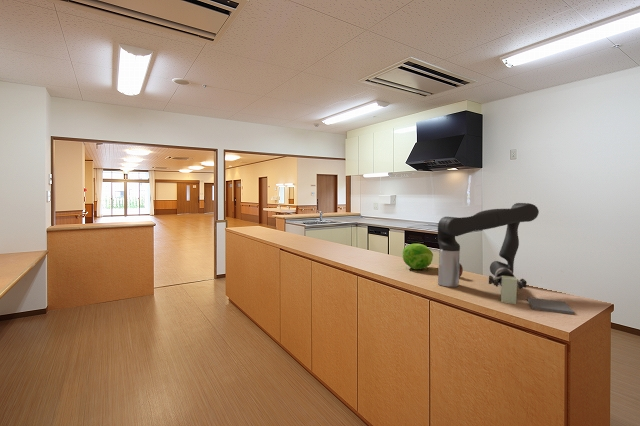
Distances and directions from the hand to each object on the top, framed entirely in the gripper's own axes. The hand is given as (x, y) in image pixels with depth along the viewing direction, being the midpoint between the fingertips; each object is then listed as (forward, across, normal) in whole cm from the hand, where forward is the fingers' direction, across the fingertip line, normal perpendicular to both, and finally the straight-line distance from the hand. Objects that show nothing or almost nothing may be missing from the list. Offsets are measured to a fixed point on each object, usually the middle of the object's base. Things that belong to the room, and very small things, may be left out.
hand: (508, 285), depth 136 cm
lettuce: (-44, -42, +6) cm, 61 cm away
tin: (-34, -24, +6) cm, 42 cm away
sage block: (+2, 0, +6) cm, 6 cm away
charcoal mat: (+2, +14, +6) cm, 15 cm away
